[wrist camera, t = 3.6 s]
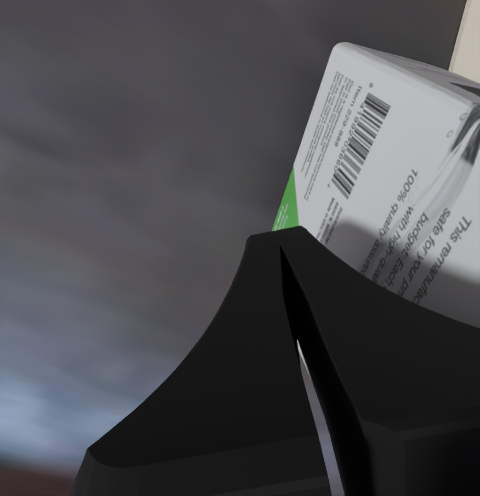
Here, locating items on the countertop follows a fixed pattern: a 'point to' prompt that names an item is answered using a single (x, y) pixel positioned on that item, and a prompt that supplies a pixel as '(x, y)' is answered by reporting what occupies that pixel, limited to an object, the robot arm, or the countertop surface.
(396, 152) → the ink box
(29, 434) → the countertop surface
